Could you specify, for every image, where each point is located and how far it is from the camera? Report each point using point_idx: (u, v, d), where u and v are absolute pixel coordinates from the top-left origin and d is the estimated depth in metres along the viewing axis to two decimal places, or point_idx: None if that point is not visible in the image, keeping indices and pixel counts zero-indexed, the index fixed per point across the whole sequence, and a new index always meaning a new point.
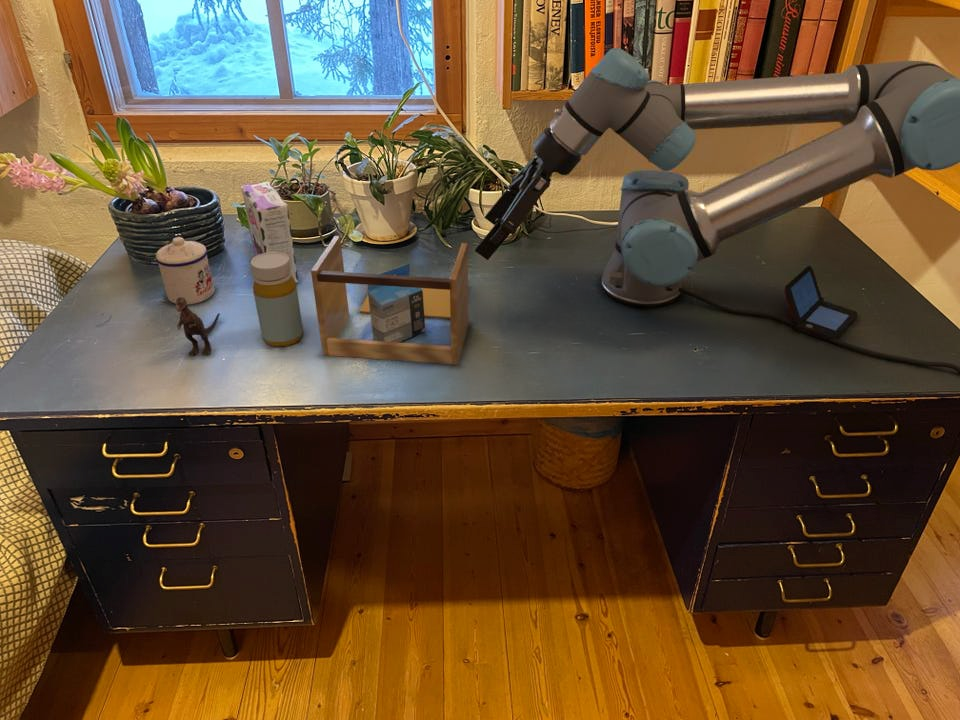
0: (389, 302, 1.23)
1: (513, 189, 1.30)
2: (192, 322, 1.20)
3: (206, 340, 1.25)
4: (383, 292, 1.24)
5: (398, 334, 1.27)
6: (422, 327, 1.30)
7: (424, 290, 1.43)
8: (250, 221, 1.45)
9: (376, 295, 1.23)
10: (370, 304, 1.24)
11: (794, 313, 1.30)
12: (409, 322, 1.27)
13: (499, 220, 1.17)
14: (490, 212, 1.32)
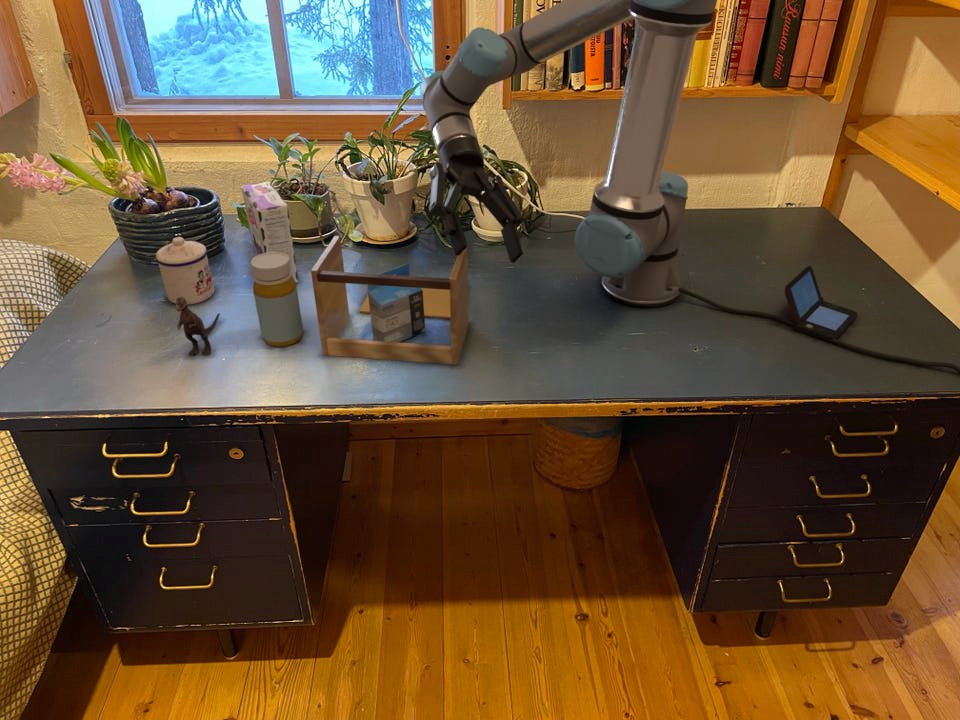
0: (389, 302, 1.23)
1: (506, 224, 1.28)
2: (192, 322, 1.20)
3: (206, 340, 1.25)
4: (383, 292, 1.24)
5: (398, 334, 1.27)
6: (422, 327, 1.30)
7: (424, 290, 1.43)
8: (250, 221, 1.45)
9: (376, 295, 1.23)
10: (370, 304, 1.24)
11: (794, 313, 1.30)
12: (409, 322, 1.27)
13: (438, 218, 1.21)
14: (509, 254, 1.26)
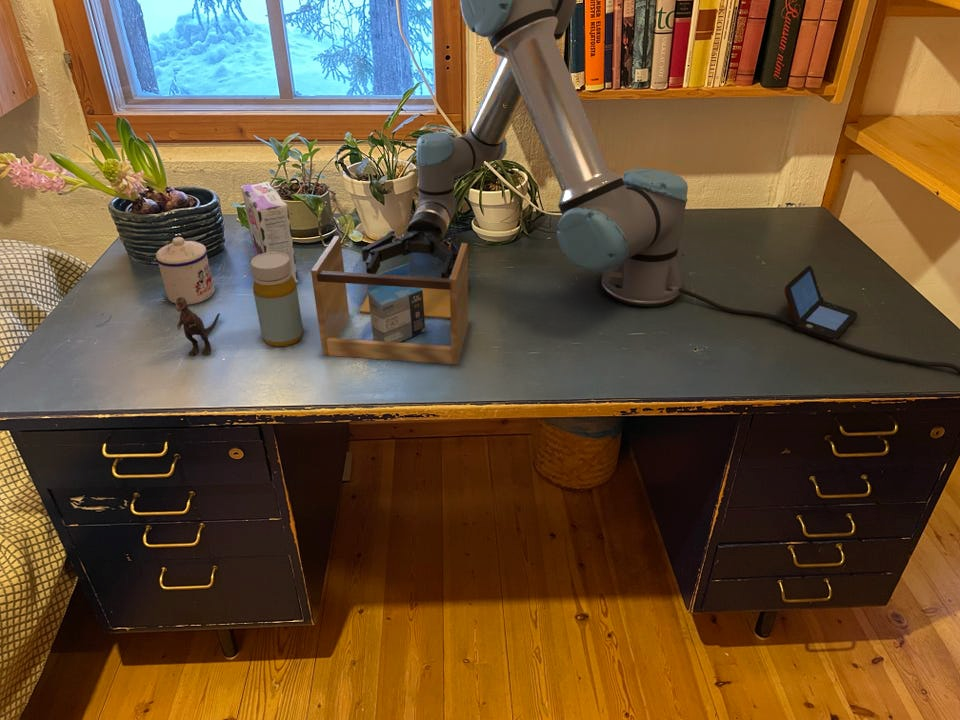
0: (389, 302, 1.23)
1: None
2: (192, 322, 1.20)
3: (206, 340, 1.25)
4: (383, 292, 1.24)
5: (398, 334, 1.27)
6: (422, 327, 1.30)
7: (424, 290, 1.43)
8: (250, 221, 1.45)
9: (376, 295, 1.23)
10: (370, 304, 1.24)
11: (794, 313, 1.30)
12: (409, 322, 1.27)
13: None
14: None
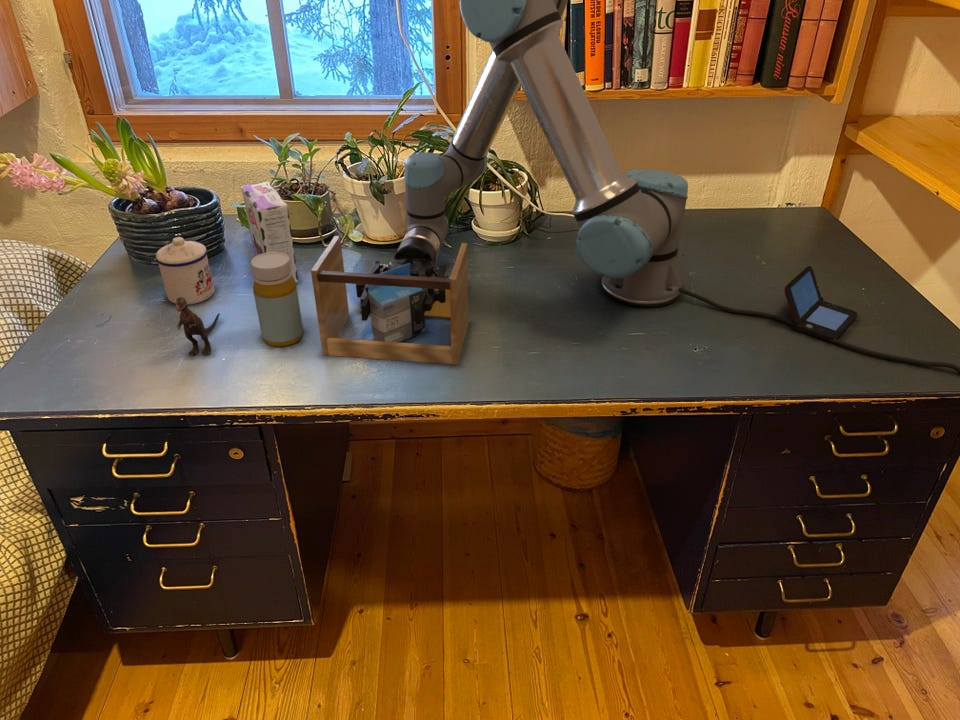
0: (389, 302, 1.23)
1: None
2: (192, 322, 1.20)
3: (206, 340, 1.25)
4: (383, 292, 1.24)
5: (398, 334, 1.27)
6: (422, 327, 1.30)
7: None
8: (250, 221, 1.45)
9: (376, 295, 1.23)
10: (370, 304, 1.24)
11: (794, 313, 1.30)
12: (409, 322, 1.27)
13: None
14: None
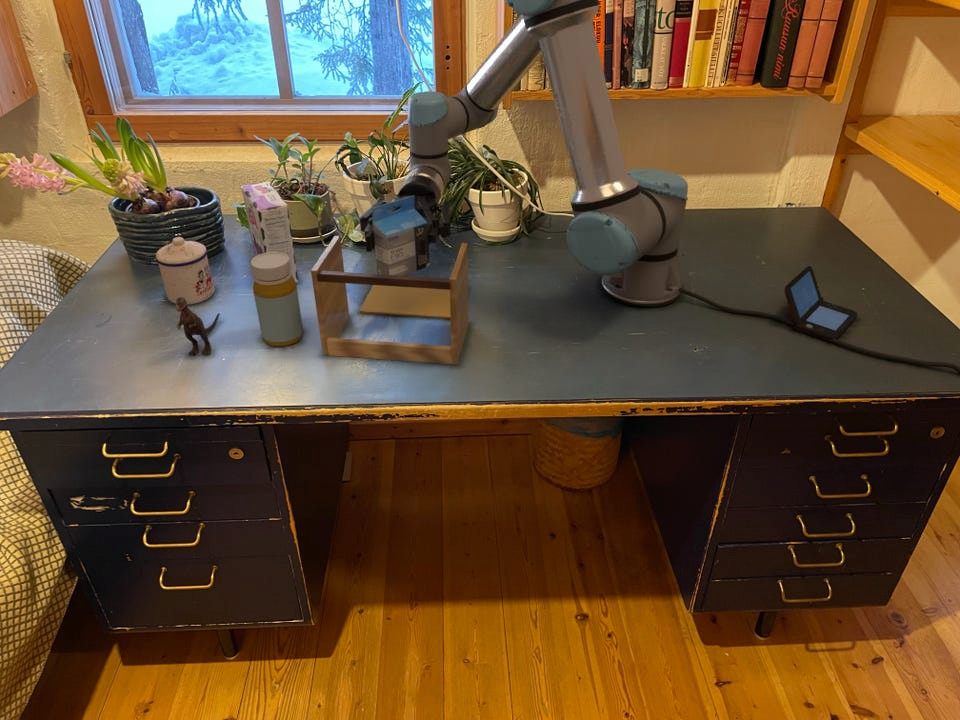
0: (394, 233, 1.22)
1: None
2: (192, 322, 1.20)
3: (206, 340, 1.25)
4: (387, 223, 1.23)
5: (403, 267, 1.26)
6: (427, 261, 1.29)
7: (424, 290, 1.43)
8: (250, 221, 1.45)
9: (381, 226, 1.22)
10: (375, 235, 1.23)
11: (794, 313, 1.30)
12: (414, 256, 1.26)
13: None
14: None
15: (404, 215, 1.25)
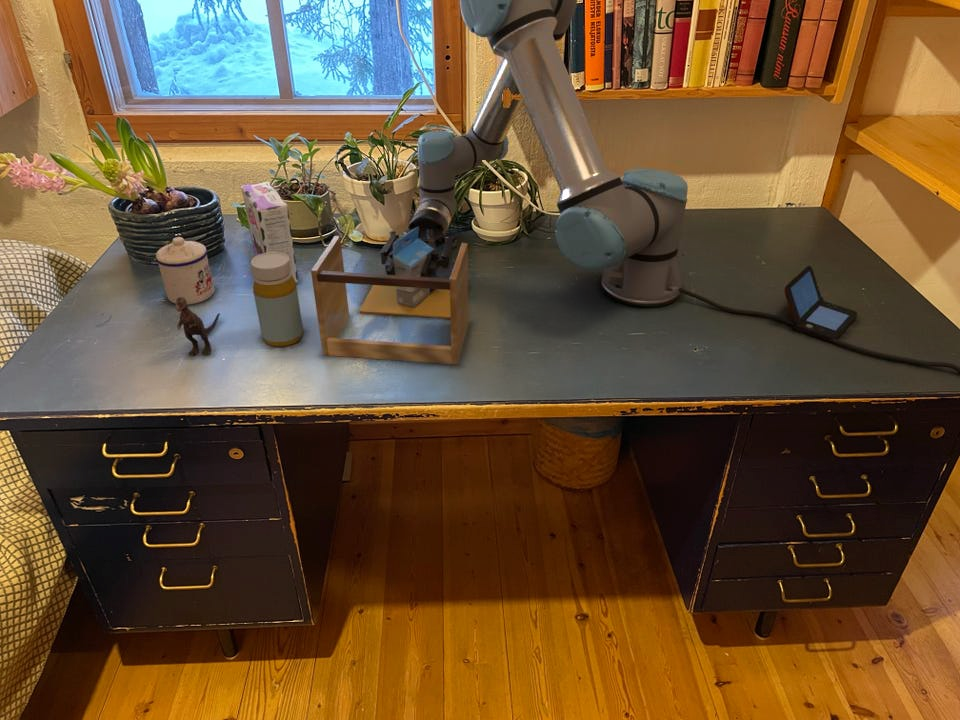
0: (414, 262, 1.34)
1: None
2: (192, 322, 1.20)
3: (206, 340, 1.25)
4: (405, 255, 1.34)
5: (421, 292, 1.38)
6: None
7: None
8: (250, 221, 1.45)
9: (401, 258, 1.33)
10: (396, 268, 1.34)
11: (794, 313, 1.30)
12: None
13: None
14: None
15: (414, 245, 1.37)
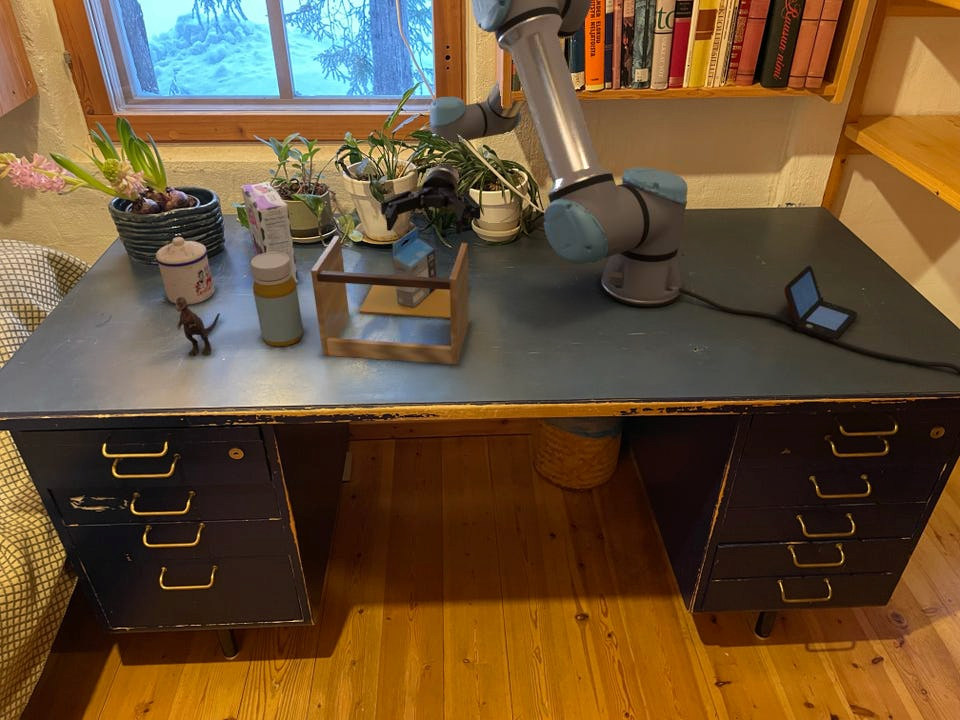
0: (415, 263, 1.34)
1: None
2: (192, 322, 1.20)
3: (206, 340, 1.25)
4: (405, 256, 1.34)
5: (421, 292, 1.38)
6: None
7: None
8: (250, 221, 1.45)
9: (401, 259, 1.33)
10: (396, 268, 1.34)
11: (794, 313, 1.30)
12: None
13: None
14: None
15: (414, 246, 1.37)
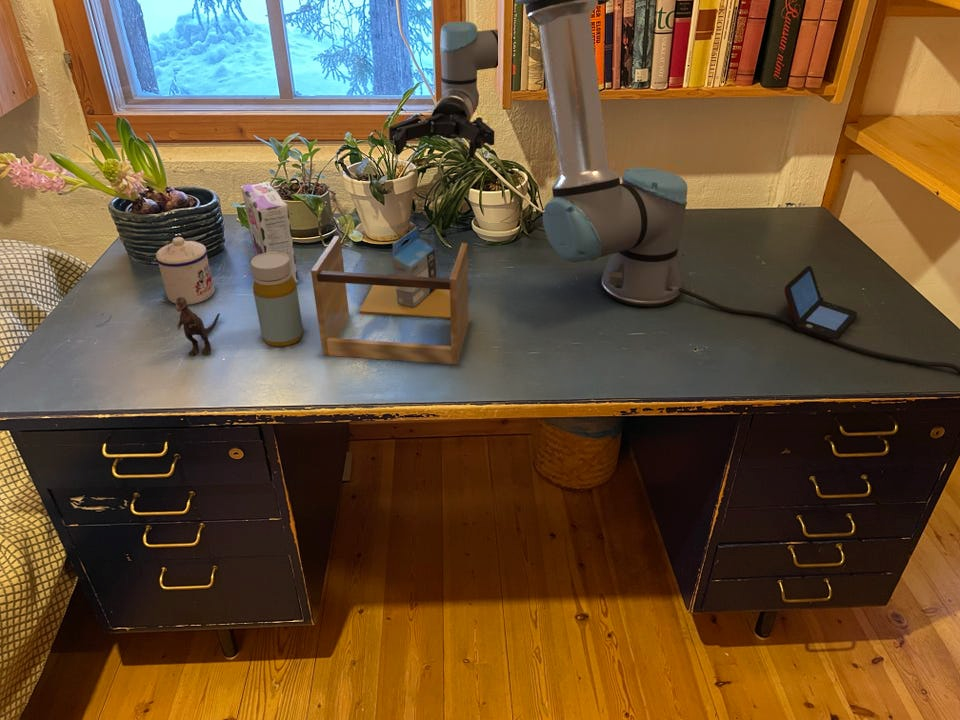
0: (414, 263, 1.34)
1: None
2: (192, 322, 1.20)
3: (206, 340, 1.25)
4: (405, 256, 1.34)
5: (421, 292, 1.38)
6: None
7: None
8: (250, 221, 1.45)
9: (401, 259, 1.33)
10: (396, 268, 1.34)
11: (794, 313, 1.30)
12: None
13: None
14: None
15: (414, 246, 1.37)
